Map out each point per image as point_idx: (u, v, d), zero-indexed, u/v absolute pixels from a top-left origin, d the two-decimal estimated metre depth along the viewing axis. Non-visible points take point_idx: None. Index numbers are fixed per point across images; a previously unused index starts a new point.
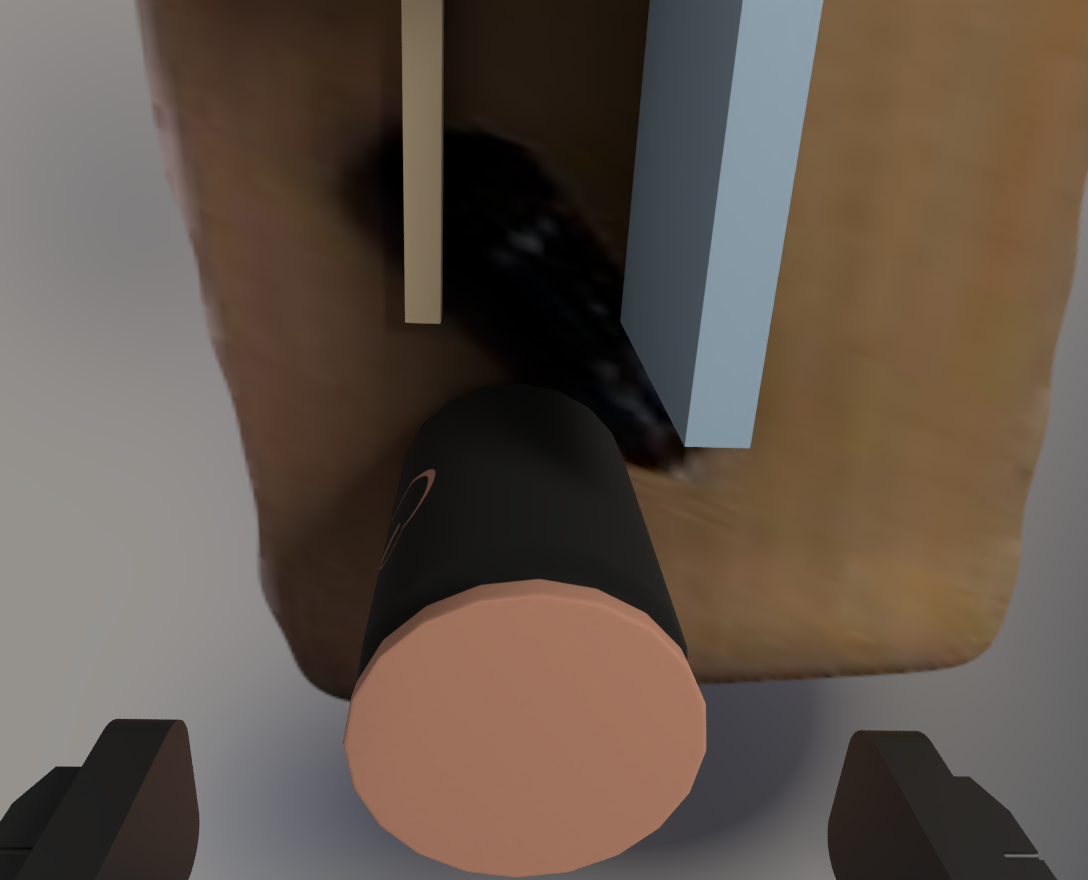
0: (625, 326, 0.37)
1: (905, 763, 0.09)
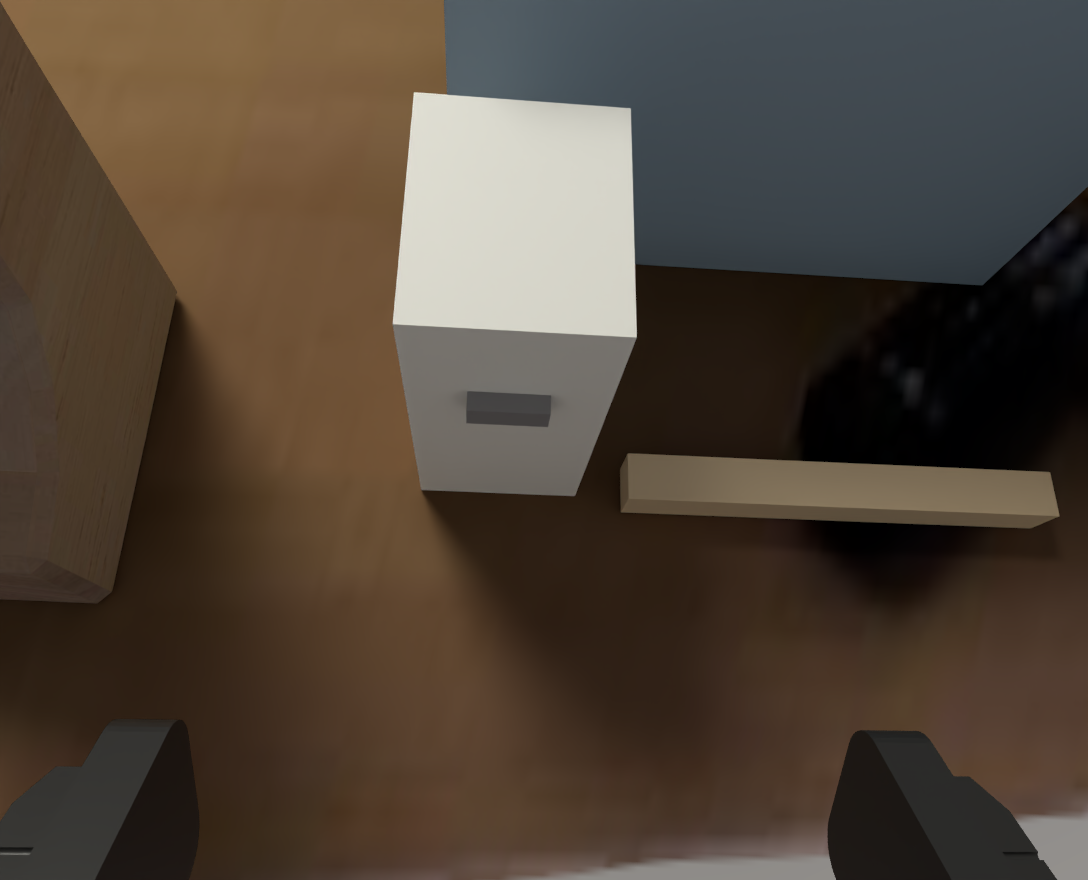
0: (1001, 262, 0.31)
1: (905, 763, 0.09)
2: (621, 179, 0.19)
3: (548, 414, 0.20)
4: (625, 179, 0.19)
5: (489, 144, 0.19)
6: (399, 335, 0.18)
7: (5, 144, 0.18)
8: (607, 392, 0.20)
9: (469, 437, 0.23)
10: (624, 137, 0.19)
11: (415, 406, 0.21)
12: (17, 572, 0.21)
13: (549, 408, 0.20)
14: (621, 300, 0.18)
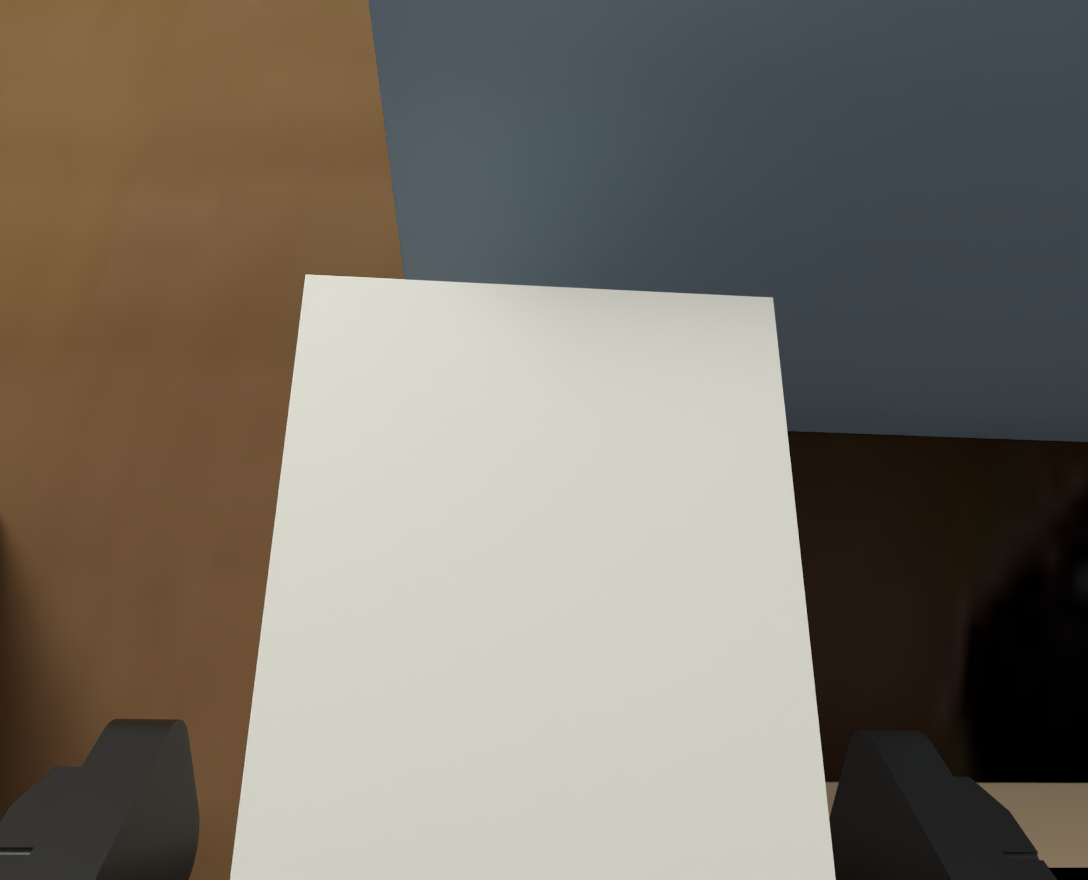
0: None
1: (905, 763, 0.09)
2: (767, 473, 0.08)
3: None
4: (776, 473, 0.08)
5: (471, 396, 0.08)
6: None
7: None
8: None
9: None
10: (765, 368, 0.09)
11: None
12: None
13: None
14: (794, 813, 0.07)
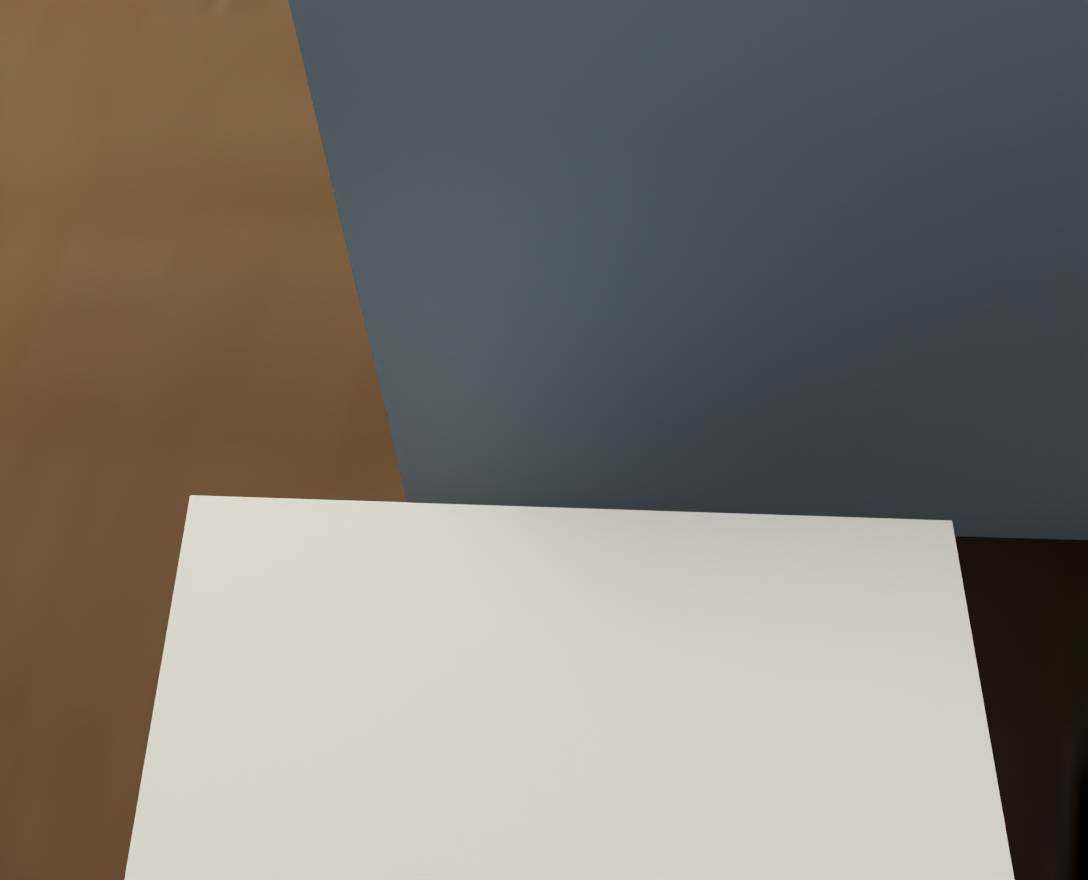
0: None
1: None
2: (968, 856, 0.05)
3: None
4: (983, 854, 0.05)
5: (462, 719, 0.05)
6: None
7: None
8: None
9: None
10: (951, 652, 0.05)
11: None
12: None
13: None
14: None
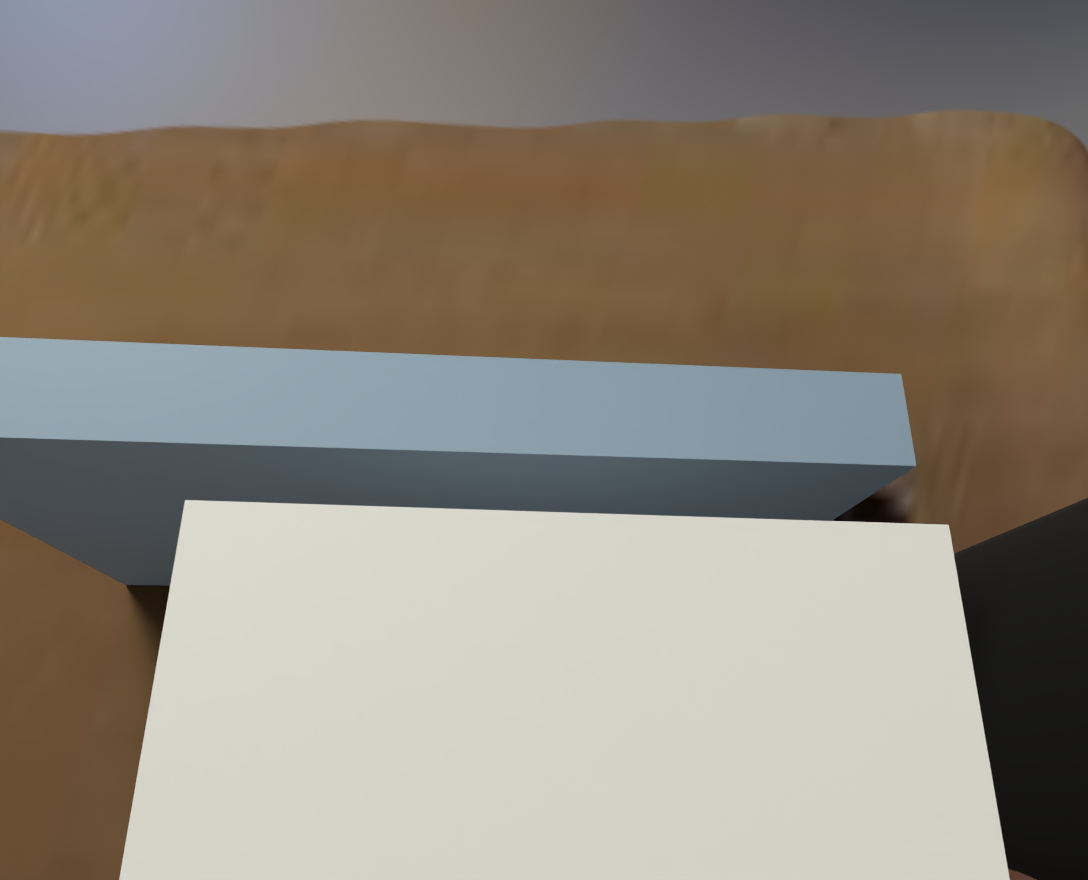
0: None
1: None
2: (964, 861, 0.05)
3: None
4: (979, 860, 0.05)
5: (456, 724, 0.05)
6: None
7: None
8: None
9: None
10: (947, 656, 0.05)
11: None
12: None
13: None
14: None
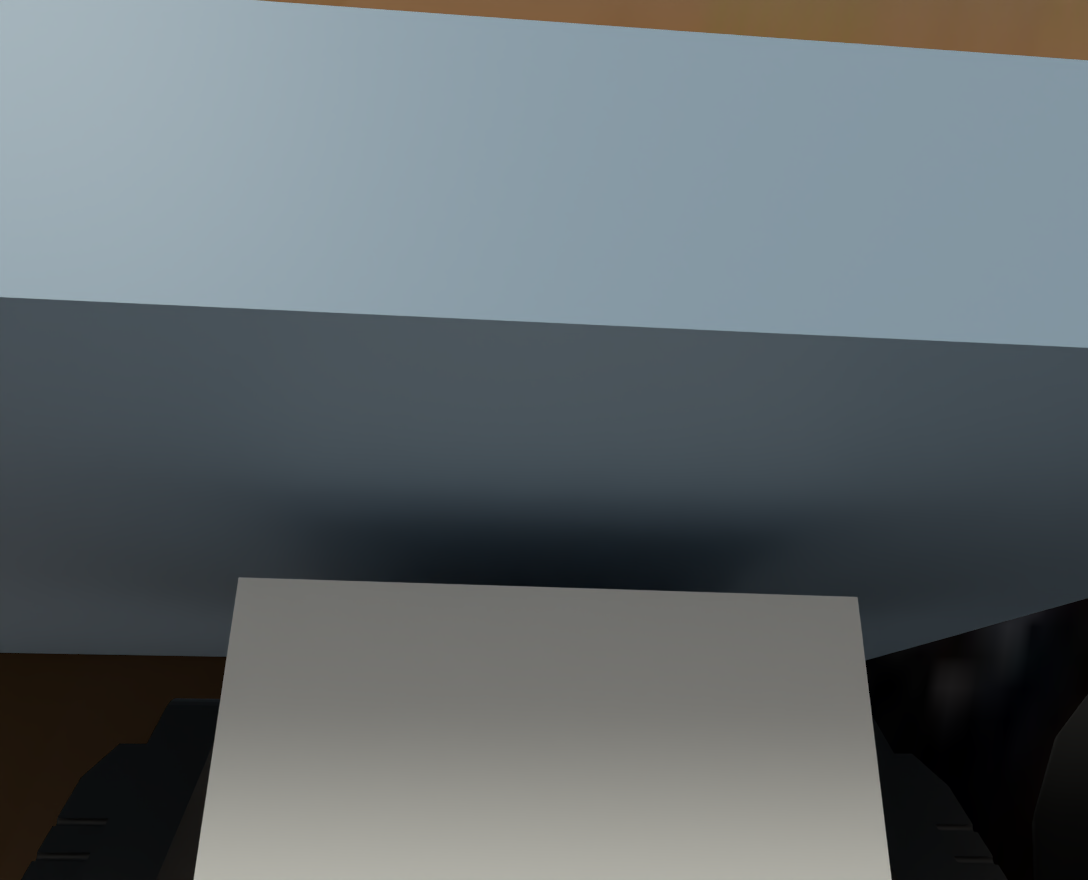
0: None
1: None
2: (856, 872, 0.06)
3: None
4: (868, 871, 0.06)
5: (455, 761, 0.06)
6: None
7: None
8: None
9: None
10: (850, 707, 0.07)
11: None
12: None
13: None
14: None
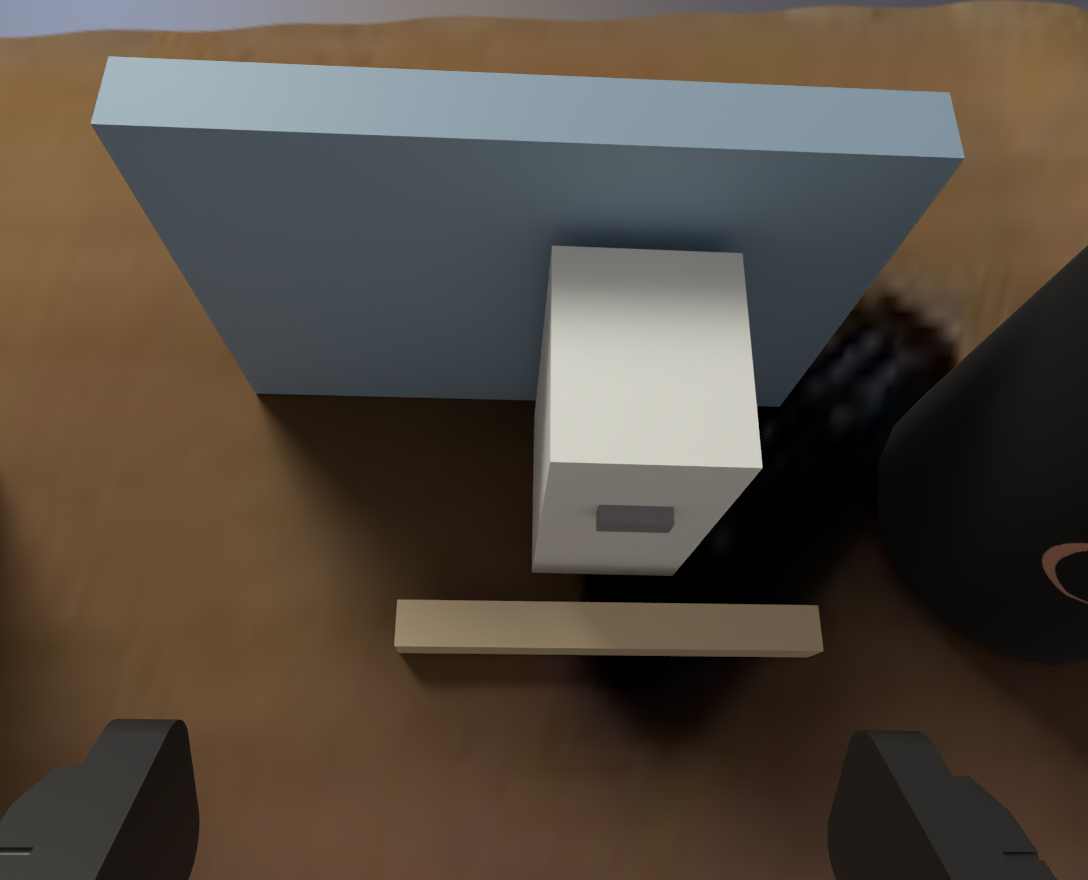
0: (787, 389, 0.31)
1: (905, 763, 0.09)
2: (738, 320, 0.21)
3: (672, 524, 0.22)
4: (742, 320, 0.21)
5: (621, 292, 0.21)
6: (553, 469, 0.20)
7: None
8: (725, 504, 0.22)
9: (590, 535, 0.25)
10: (738, 281, 0.22)
11: (548, 515, 0.23)
12: None
13: (673, 519, 0.23)
14: (746, 434, 0.20)
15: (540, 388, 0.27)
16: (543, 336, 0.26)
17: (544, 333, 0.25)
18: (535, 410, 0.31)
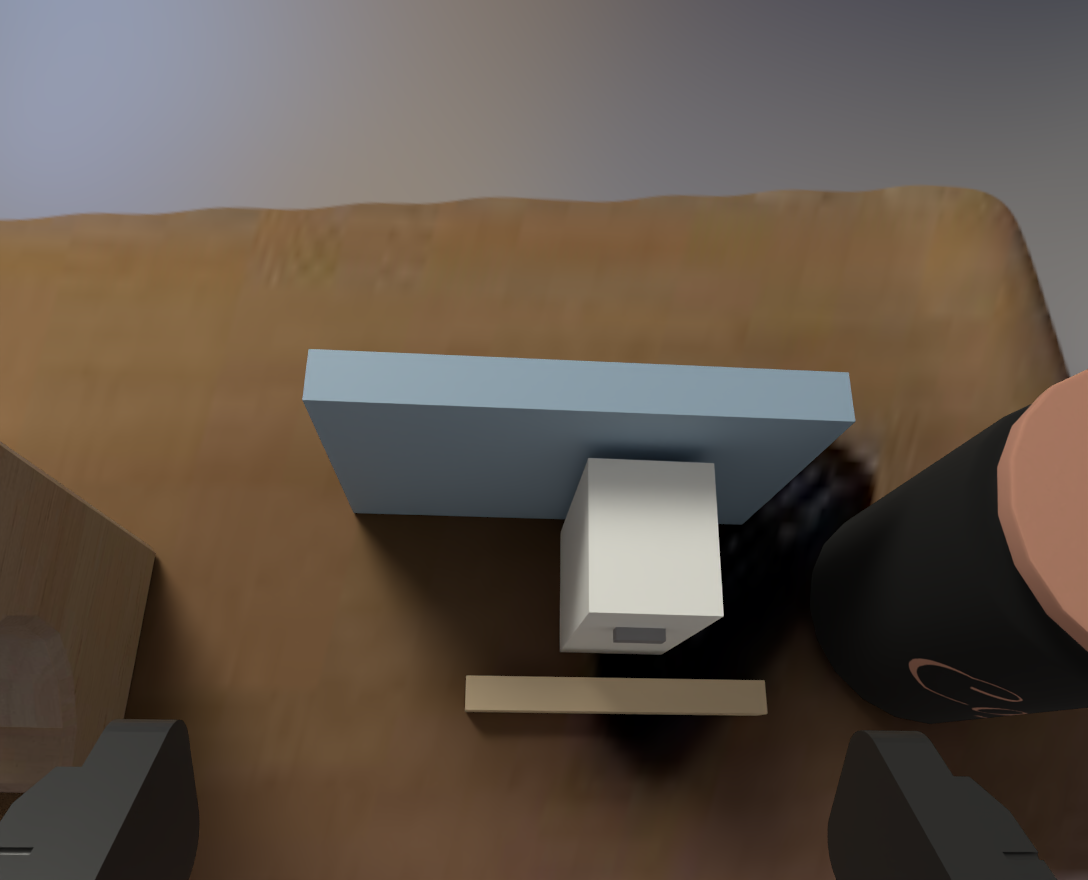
0: (747, 516, 0.43)
1: (905, 763, 0.09)
2: (710, 512, 0.33)
3: (664, 640, 0.34)
4: (713, 512, 0.33)
5: (634, 492, 0.33)
6: (590, 614, 0.31)
7: (44, 552, 0.30)
8: (699, 628, 0.34)
9: (606, 638, 0.37)
10: (711, 484, 0.33)
11: (580, 630, 0.35)
12: None
13: (665, 637, 0.34)
14: (714, 592, 0.31)
15: (571, 529, 0.38)
16: (576, 498, 0.37)
17: (577, 499, 0.36)
18: (562, 530, 0.42)
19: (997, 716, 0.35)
